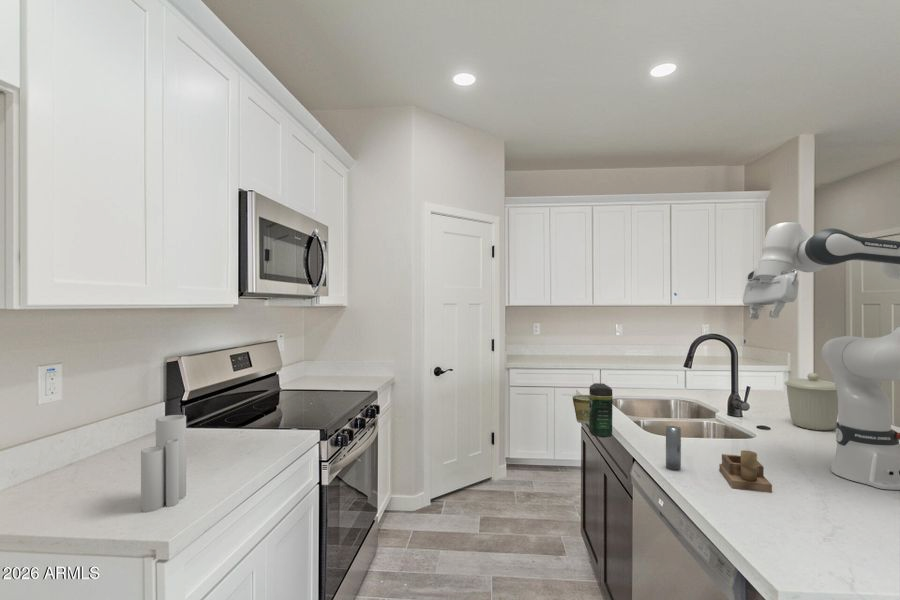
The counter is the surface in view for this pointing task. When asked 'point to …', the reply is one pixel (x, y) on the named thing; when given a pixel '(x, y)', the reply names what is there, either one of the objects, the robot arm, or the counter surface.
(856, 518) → the counter surface
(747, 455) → the walnut housing
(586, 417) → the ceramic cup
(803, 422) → the beige round tub
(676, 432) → the grey metal pin
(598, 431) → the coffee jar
